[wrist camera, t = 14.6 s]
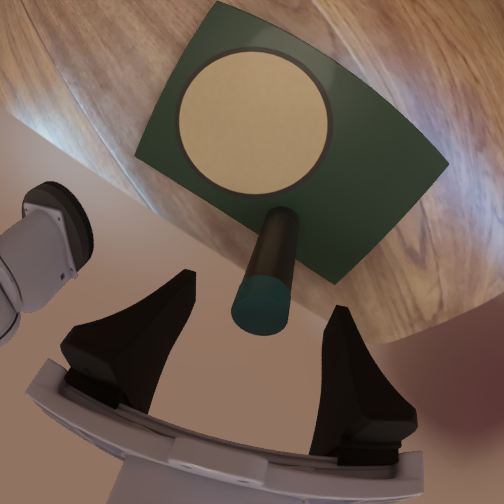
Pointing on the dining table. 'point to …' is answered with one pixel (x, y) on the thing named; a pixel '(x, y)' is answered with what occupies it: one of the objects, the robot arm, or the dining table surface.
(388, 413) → the robot arm
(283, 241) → the pill bottle
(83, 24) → the dining table surface
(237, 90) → the kitchen scale
